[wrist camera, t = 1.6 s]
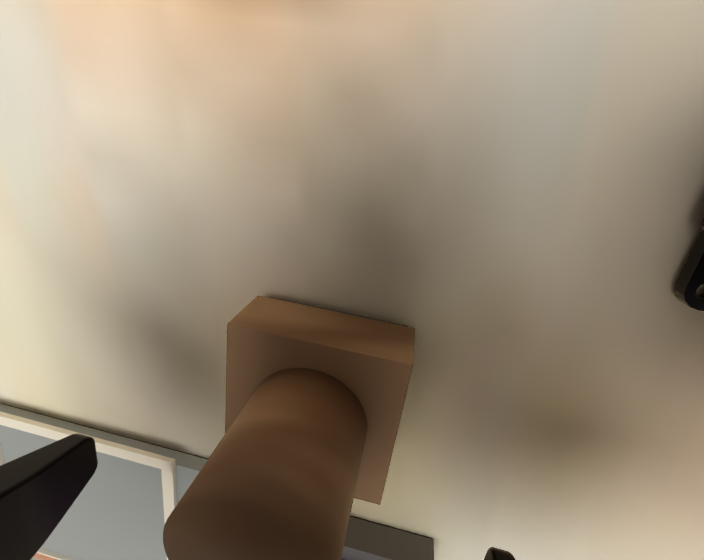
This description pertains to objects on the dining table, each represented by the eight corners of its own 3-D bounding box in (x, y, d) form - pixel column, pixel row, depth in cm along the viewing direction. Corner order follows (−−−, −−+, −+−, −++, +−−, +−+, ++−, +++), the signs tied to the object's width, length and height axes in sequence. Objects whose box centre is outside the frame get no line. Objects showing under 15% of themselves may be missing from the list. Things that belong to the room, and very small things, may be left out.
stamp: (415, 321, 12) (403, 506, 6) (388, 443, 14) (357, 680, 8) (264, 289, 12) (113, 429, 6) (257, 410, 14) (134, 605, 8)
